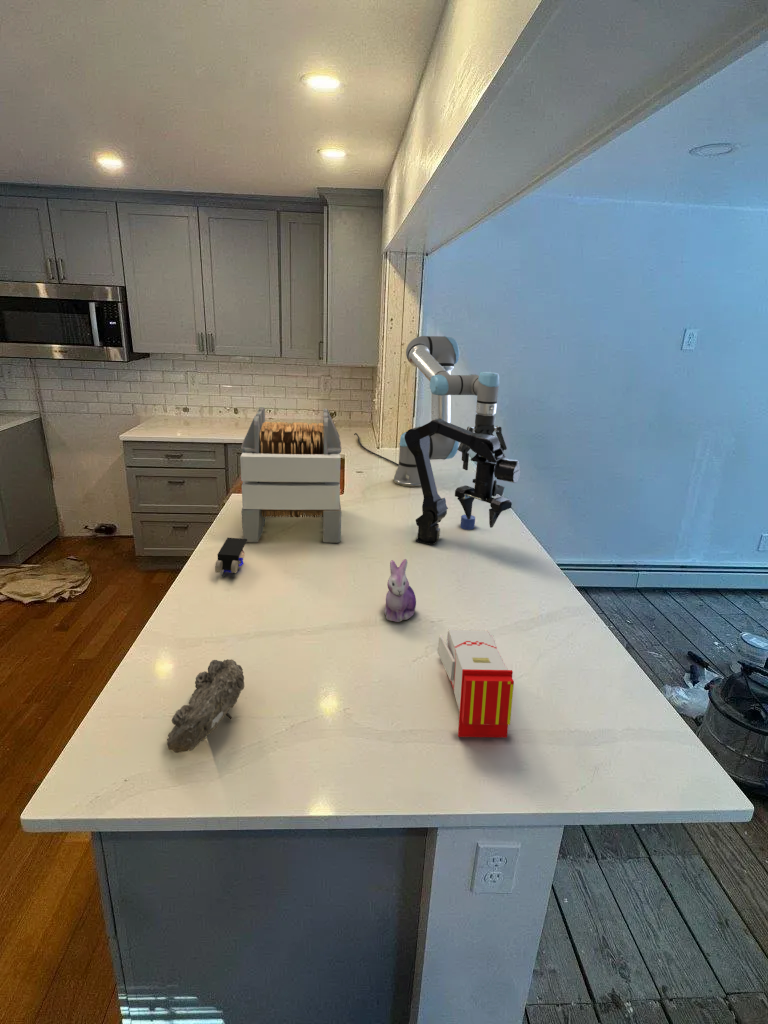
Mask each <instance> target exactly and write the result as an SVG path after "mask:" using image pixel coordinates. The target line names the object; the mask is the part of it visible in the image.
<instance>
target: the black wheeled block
mask: <svg viewBox="0 0 768 1024" xmlns="http://www.w3.org/2000/svg"><path fill="white" fill-rule="evenodd" d="M246 542H247V539H243V538H240V537H226V539H225V541H224V543H223V544H222V546H221V547H220V549H219V551H218V552H217V560H216V562H215V564H214V572H215V573H221V577H222V578H224V577H225V576H226V574H227V573H230V574H231V573H232V574H231V578H234V577H235V575H236V573H237V572H239V571H240V567H242V566H243V565H244V564H245V562H244V558H245V551H244V547H245V546H246V544H247V543H248V542H247V543H246Z"/></svg>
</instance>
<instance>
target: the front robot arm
mask: <svg viewBox="0 0 768 1024" xmlns="http://www.w3.org/2000/svg"><path fill="white" fill-rule="evenodd" d="M405 432H406V434H405V442H406V444H407V447H408V449H409V450H410V452H411V453H412V454H413V455H414V458H415V462H416V466H417V471H418V475H419V479H420V483H421V486H420V489H421V491H422V492H421V493H422V496H423V499H422V506H421V511H422V514H421V515H419V516H418V517H417V518H416V519H415V524H416V526H417V538H416V539H415V542H417V543H421V544H425V545H430V546H435V544H436V543H437V542H438V541H439V540H440V532H441V528H439V526H440V524H439V523H441V521H442V520H443V519H444V518H445V517H446V516H447V514H448V510H449V507H448V506H447V500H446V497H441V496H440V495H439V493H438V489H437V485H436V480H435V475H434V472H433V467H432V464H431V460H430V458H429V454H428V451H429V446H430V436H432V435H434V434H436V433H438V434H441V435H443V436H445V437H448V438H450V439H453V440H455V441H457V442H459V443H462V444H465V445H467V446H468V447H469V448H470V450H471V451H472V452H474V453H475V455H474V456H472V457H471V458H470V461H471V462H474V463H476V470H475V478H473V479H472V483H473V484H474V486H473V487H472V486H469V485H462V486H459V487H456V489H455V490H454V497H456V498H457V501H459V503H460V505H461V507H462V509H463V511H464V515H466V517H467V519H470V518H471V515H472V513H473V512H472V511H473V510H472V509H473V502H474V501H475V499H476V500H478V501H481V502H484V503H486V504H487V503H488V504H490V505H489V506H490V508H489V510H488V522H489V523H488V525H489V529H490V528H493V527H494V526H495V524H496V522H497V520H498V519H499V516H500V515H501V514H502V512H504V511H507V510H509V509H512V505H513V502H512V500H511V499H510V498H507V497H504V496H503V494H504V491H505V486H503V485H500V484H497V480H498V481H504V482H509V483H513V484H516V483H518V481H519V479H520V475H521V467H520V464H519V463H520V461H519V459H509V458H507V457H506V454H505V453H504V451H502V449H501V447H500V442H499V439H498V438H497V436H495V435H494V436H492V435H487V434H478V433H475V432H471V431H468V430H467V428H463V427H461V426H458V425H456V424H453V423H451V422H450V423H448V422H446V421H444V420H442V419H435V420H432V421H431V420H430V421H429V422H428V423H426V424H423V425H421V426H417V427H413V428H410V429H407V430H406V431H405ZM494 454H495V456H494ZM495 478H496V479H495ZM497 495H498V496H499V497H497Z"/></svg>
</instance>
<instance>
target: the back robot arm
mask: <svg viewBox="0 0 768 1024" xmlns="http://www.w3.org/2000/svg"><path fill="white" fill-rule="evenodd" d="M405 357H406V359H407V361H408V362H409V364H410V365H411V366H413V367H415V368H417V369H418V370H419V371H420V373H421V374H423V376H424V377H425V378H426V379H427V380H428V381H429V389H430V393H431V394H430V395H431V398H430V400H431V402H430V403H431V406H430V407H431V408H430V409H431V412H430V413H431V415H430V416H431V417H430V418H431V420H430V422H431V421H432V420H435V419H442V420H444V421H446V422H448V423H451V400H452V399H451V396H476V405H475V406H476V407H475V416H474V417H475V418H474V424H475V425H474V427H471V426H467V428H466V430H468V431H471V432H473V433H478V434H487V435H492V436H495V435H494V432H495V434H496V437H497V438H498V439H499V442H500V447H501V449H502V451H503V452H504V451H506V450H508V448H507V444H506V442H505V438H504V436H503V432H502V431H503V430H502V429H503V427H502V426H499V425H496V418H497V417H496V415H495V414H497V406H498V397H499V388H500V374H499V373H498V372H493V371H481V372H480V373H479V374H476V373H474V374H470V373H469V374H468V375H467V374H459V375H458V374H452V373H451V372H452V371H453V369H454V368H455V365H456V364H458V362H459V358H460V346H459V344H458V342H457V340H456V339H455V338H454V337H452V336H445V335H444V336H441V335H436V336H435V335H434V336H433V335H419V336H417V337H414V338H413V339H411V341H410V342H409V343H408V344H407V346H406V350H405ZM495 425H496V426H495ZM406 432H407V431H405V432H403V433H402V434H401V435H400V439H399V450H398V451H399V454H398V463H397V462H395V461H393V460H391V459H389V458H387V457H384V456H382V455H380V454H378V453H375V452H374V451H371V450H369V449H368V448H366V447H365V446H364V445H363V444H361V443H362V442H361V441H360V435H359V434H358V433H357V432H355V433H354V434H353V435H354V436H356V437H357V441H358V444H359V446H360V447H361V448H363V449H364V450H365V451H367V452H369V453H370V454H373V455H375V456H377V457H379V458H381V459H383V460H386V461H388V462H390V463H392V464H394V465H396V466H397V469H396V470H395V474H394V477H393V483H394V484H396V485H398V486H401V487H408V488H421V483H420V479H419V475H418V471H417V466H416V462H415V458H414V455H413V454H412V453H411V452H410V450H409V449H408V447H407V444H406V442H405V434H406ZM459 443H460V442H457V441H455V440H453V439H450V438H448V437H445V436H443V435H441V434H438V433H436V434H434V435H432V436H430V446H429V451H428V454H429V458H430V461H433V460H434V461H435V460H443V461H444V460H450V459H453V458H454V457H455V456H456V454H457V453H458V451H459V452H461V461H462V469H463V470H465V471H468V470H469V459H470V453H468V452H470V450H471V449H470V448H469V447H468V446H467V445H465V444H462V443H460V444H459ZM493 455H494V456H495V454H493Z"/></svg>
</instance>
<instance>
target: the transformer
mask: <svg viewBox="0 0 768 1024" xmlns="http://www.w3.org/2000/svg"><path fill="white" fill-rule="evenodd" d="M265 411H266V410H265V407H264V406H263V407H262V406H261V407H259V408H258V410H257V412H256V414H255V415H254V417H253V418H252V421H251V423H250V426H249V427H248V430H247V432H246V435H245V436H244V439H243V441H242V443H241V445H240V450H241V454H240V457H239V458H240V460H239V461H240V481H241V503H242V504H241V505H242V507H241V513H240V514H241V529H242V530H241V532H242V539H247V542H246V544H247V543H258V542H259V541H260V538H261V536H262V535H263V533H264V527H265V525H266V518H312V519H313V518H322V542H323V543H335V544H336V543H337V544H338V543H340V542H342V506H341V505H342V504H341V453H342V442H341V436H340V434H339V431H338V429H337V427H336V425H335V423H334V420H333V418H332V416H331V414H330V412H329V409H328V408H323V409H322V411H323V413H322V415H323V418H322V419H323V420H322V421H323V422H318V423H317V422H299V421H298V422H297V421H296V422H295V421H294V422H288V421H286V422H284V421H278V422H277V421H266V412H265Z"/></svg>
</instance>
